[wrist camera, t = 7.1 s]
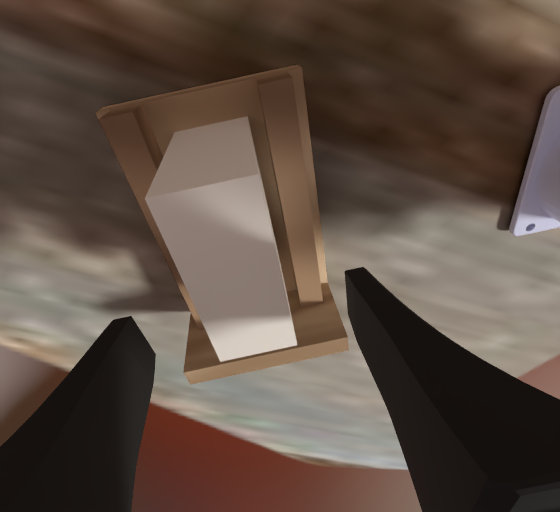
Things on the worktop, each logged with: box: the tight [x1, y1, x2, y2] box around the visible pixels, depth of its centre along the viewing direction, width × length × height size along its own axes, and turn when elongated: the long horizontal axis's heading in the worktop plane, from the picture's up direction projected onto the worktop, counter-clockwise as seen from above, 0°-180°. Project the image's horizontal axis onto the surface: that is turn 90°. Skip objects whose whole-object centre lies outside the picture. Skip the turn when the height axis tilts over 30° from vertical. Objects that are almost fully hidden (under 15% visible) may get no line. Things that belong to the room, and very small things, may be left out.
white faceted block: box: [145, 116, 297, 362], centre depth 13 cm, size 3×7×6 cm, turn 10°
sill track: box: [95, 65, 349, 384], centre depth 15 cm, size 12×8×5 cm, turn 10°
